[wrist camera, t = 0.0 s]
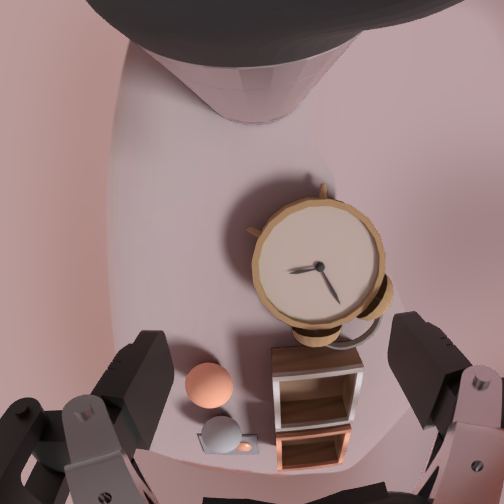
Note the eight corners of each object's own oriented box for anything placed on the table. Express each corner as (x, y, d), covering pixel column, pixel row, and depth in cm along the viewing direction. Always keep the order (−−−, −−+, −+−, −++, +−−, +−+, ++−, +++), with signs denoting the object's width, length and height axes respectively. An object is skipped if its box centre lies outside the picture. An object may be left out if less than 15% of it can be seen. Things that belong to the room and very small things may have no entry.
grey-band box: (271, 348, 30) (272, 377, 26) (352, 340, 30) (364, 367, 25) (274, 403, 33) (275, 431, 29) (345, 395, 32) (353, 422, 28)
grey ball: (200, 407, 34) (194, 437, 29) (240, 407, 33) (238, 438, 29) (208, 430, 35) (203, 458, 30) (244, 430, 35) (243, 459, 30)
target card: (198, 434, 36) (198, 436, 35) (256, 434, 35) (256, 437, 35) (205, 452, 37) (205, 454, 37) (259, 452, 37) (258, 455, 36)
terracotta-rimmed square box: (274, 409, 33) (275, 437, 29) (343, 402, 33) (351, 429, 29) (276, 446, 36) (277, 471, 32) (336, 439, 36) (342, 464, 31)
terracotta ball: (185, 353, 31) (175, 384, 26) (231, 352, 30) (227, 384, 26) (194, 386, 32) (186, 416, 28) (236, 385, 32) (233, 417, 27)
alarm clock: (346, 169, 22) (420, 325, 23) (336, 174, 27) (402, 307, 28) (222, 241, 24) (310, 384, 25) (233, 234, 29) (308, 358, 30)
